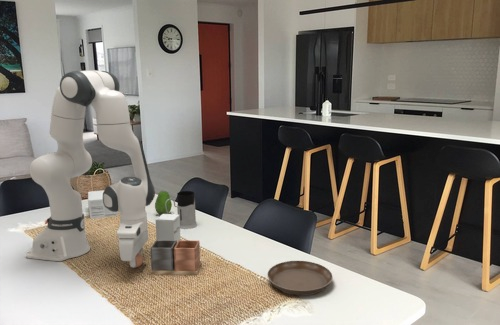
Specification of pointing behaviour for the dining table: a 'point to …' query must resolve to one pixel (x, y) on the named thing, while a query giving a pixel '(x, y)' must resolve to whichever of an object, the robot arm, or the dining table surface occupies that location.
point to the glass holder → (185, 209)
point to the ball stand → (136, 268)
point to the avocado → (163, 203)
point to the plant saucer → (300, 277)
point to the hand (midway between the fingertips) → (136, 262)
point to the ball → (139, 260)
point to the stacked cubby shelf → (175, 257)
